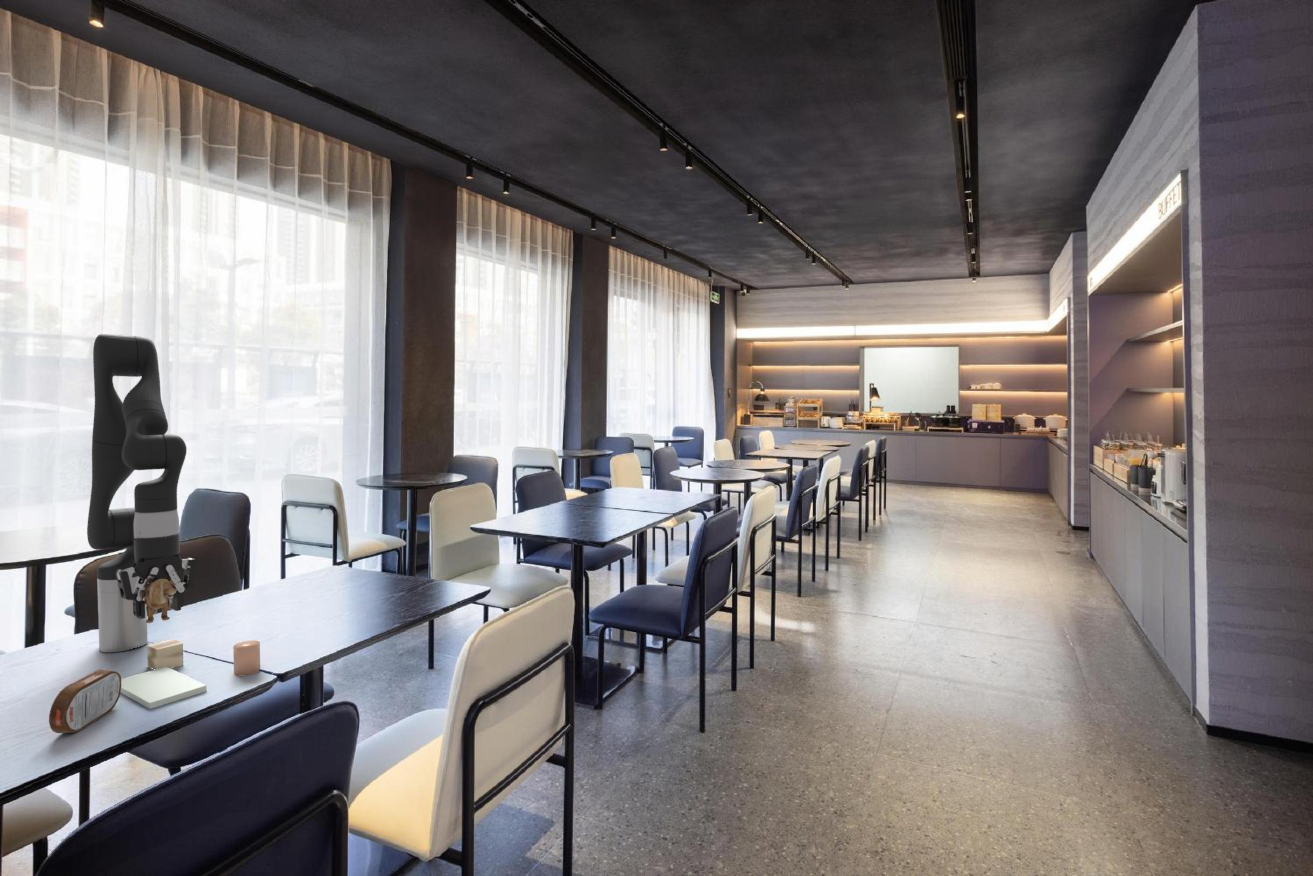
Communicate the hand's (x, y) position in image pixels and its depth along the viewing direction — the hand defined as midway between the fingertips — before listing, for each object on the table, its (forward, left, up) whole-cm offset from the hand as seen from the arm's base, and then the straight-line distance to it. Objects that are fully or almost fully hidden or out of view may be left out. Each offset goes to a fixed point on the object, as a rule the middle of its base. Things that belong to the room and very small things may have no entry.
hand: (159, 613), depth 141 cm
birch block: (-13, +6, -16) cm, 21 cm away
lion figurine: (-1, +1, -1) cm, 2 cm away
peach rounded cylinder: (+5, +15, -16) cm, 22 cm away
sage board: (0, 0, -16) cm, 16 cm away
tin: (+6, -14, -16) cm, 22 cm away
